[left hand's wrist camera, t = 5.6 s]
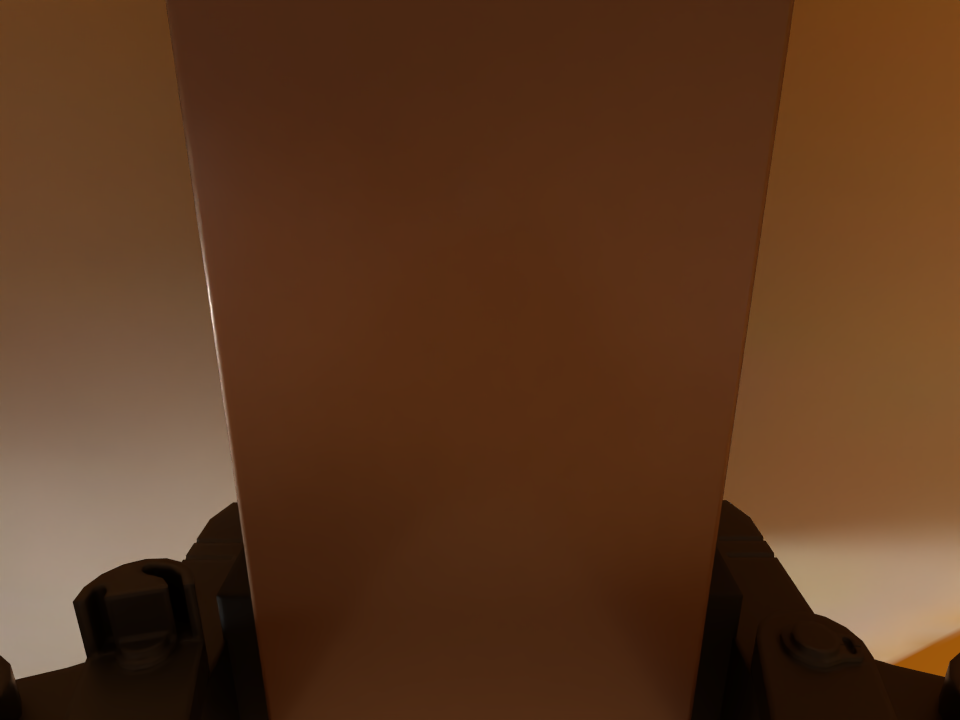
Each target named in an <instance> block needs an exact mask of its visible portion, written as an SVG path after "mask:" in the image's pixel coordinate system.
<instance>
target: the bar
mask: <svg viewBox="0 0 960 720" xmlns="http://www.w3.org/2000/svg"><path fill="white" fill-rule="evenodd" d="M793 6H794V0H166V7H167V14H168V21H169V28H170V35H171V42H172V49H173V55H174V62H175V69H176V76H177V83H178V90H179V97H180V104H181V111H182V118H183V125H184V132H185V139H186V146H187V153H188V160H189V167H190V174H191V181H192V188H193V195H194V202H195V209H196V216H197V223H198V230H199V237H200V244H201V251H202V258H203V265H204V271H205V278H206V285H207V292H208V299H209V306H210V313H211V320H212V327H213V334H214V341H215V348H216V355H217V362H218V369H219V376H220V383H221V390H222V397H223V404H224V411H225V418H226V425H227V432H228V439H229V446H230V453H231V460H232V467H233V474H234V481H235V487H236V494H237V501H238V508H239V515H240V522H241V529H242V536H243V543H244V550H245V557H246V564H247V571H248V578H249V585H250V592H251V599H252V606H253V613H254V620H255V627H256V634H257V641H258V648H259V655H260V662H261V669H262V676H263V683H264V690H265V697H266V704H267V710H268V717H269V720H691V716H692V709H693V702H694V695H695V688H696V681H697V674H698V667H699V660H700V653H701V646H702V639H703V633H704V626H705V619H706V612H707V605H708V598H709V591H710V584H711V577H712V570H713V563H714V556H715V549H716V542H717V535H718V528H719V521H720V514H721V507H722V500H723V493H724V486H725V479H726V472H727V465H728V459H729V452H730V445H731V438H732V431H733V424H734V417H735V410H736V403H737V396H738V389H739V382H740V375H741V368H742V361H743V354H744V347H745V340H746V333H747V326H748V319H749V312H750V305H751V298H752V292H753V285H754V278H755V271H756V264H757V257H758V250H759V243H760V236H761V229H762V222H763V215H764V208H765V201H766V194H767V187H768V180H769V173H770V166H771V159H772V152H773V145H774V138H775V131H776V124H777V118H778V111H779V104H780V97H781V90H782V83H783V76H784V69H785V62H786V55H787V48H788V41H789V34H790V27H791V20H792V13H793Z"/></svg>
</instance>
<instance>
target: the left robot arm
mask: <svg viewBox="0 0 960 720" xmlns="http://www.w3.org/2000/svg"><path fill="white" fill-rule="evenodd" d="M73 605H74V609H75V613H76V616H77V620H78V624H79V628H80V632H81V636H82V640H83V644H84V648H85V652H86V655H87V659H86V662H84V663H81V664H78V665H75V666H71V667H68V668H64V669H60V670H56V671H51V672H47V673H43V674H38V675H34V676H30V677H26V678H21V679H17V680H15V678H14V675H13V671H12V668H11V665H10V664H9V663H8V662H7V661H6V660H5V659H4V658H3V657H2V656H0V720H269V717H268V710H267V704H266V697H265V690H264V683H263V676H262V669H261V662H260V655H259V648H258V641H257V634H256V627H255V620H254V613H253V606H252V599H251V592H250V585H249V578H248V571H247V564H246V557H245V550H244V543H243V536H242V529H241V522H240V515H239V508H238V502H233V503H232V504H230V505H229V506H228V507H226V508H225V509H224V510H222V511H221V512H220V513H218V514H217V515H215V516H214V517H213V518H211V519H210V520H209V522H208V523H207V525H206V526H205V528H204V529H203V531H202V532H201V534H200V535H199V537H198V538H197V543H194V544H193V546H192V547H191V549H190V550H189V552H188V553H187V555H186V560H183V561H182V562H179V561H175V560H171V559H167V558H163V559H144V560H140V561H136V562H132V563H128V564H124V565H121V566H119V567H117V568H115V569H112V570H110V571H108V572H106V573H104V574H101V575H100V576H99V577H97V578H96V579H95V580H93V581H92V582H91V583H89V584H88V585H86V586H85V587H84V588H83V589H82V590H81V592H80V593H79V594H78V596H77V597H76V598H75V600H74V601H73ZM691 720H960V653H959V654H958V655H957V656H955V657H954V658H953V659H952V660H951V661H950V663H949V666H948V669H947V673H946V676H945V677H942V676H938V675H933V674H929V673H925V672H921V671H916V670H912V669H908V668H904V667H899V666H895V665H891V664H888V663H885V662H881V661H878V660H875V659H874V658H873V656H872V655H871V653H870V652H869V650H868V649H867V647H866V645H865V644H864V642H863V641H862V640H861V639H859V638H858V637H857V636H856V635H855V634H853V633H852V632H851V631H850V630H849V629H847V628H846V627H844V626H842V625H840V624H838V623H837V622H835V621H833V620H831V619H829V618H827V617H824V616H821V615H817V614H814V612H813V611H812V610H811V608H810V607H809V605H808V604H807V602H806V601H805V599H804V598H803V596H802V595H801V593H800V592H799V590H798V589H797V587H796V586H795V584H794V583H793V581H792V580H791V578H790V577H789V575H788V574H787V572H786V571H785V569H784V568H783V566H782V565H781V563H780V562H779V560H778V559H777V558H775V557H774V553H773V551H772V550H771V548H770V547H769V545H768V544H767V542H766V541H763V536H762V535H761V533H760V532H759V530H758V529H757V527H756V526H755V524H754V523H753V521H752V520H751V518H750V517H749V516H747V515H746V514H745V513H743V512H742V511H741V510H739V509H738V508H736V507H735V506H734V505H732V504H731V503H730V502H728V501H727V500H722V507H721V514H720V521H719V528H718V535H717V542H716V549H715V556H714V563H713V570H712V577H711V584H710V591H709V598H708V605H707V612H706V619H705V626H704V633H703V639H702V646H701V653H700V660H699V667H698V674H697V681H696V688H695V695H694V702H693V709H692V716H691Z"/></svg>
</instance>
